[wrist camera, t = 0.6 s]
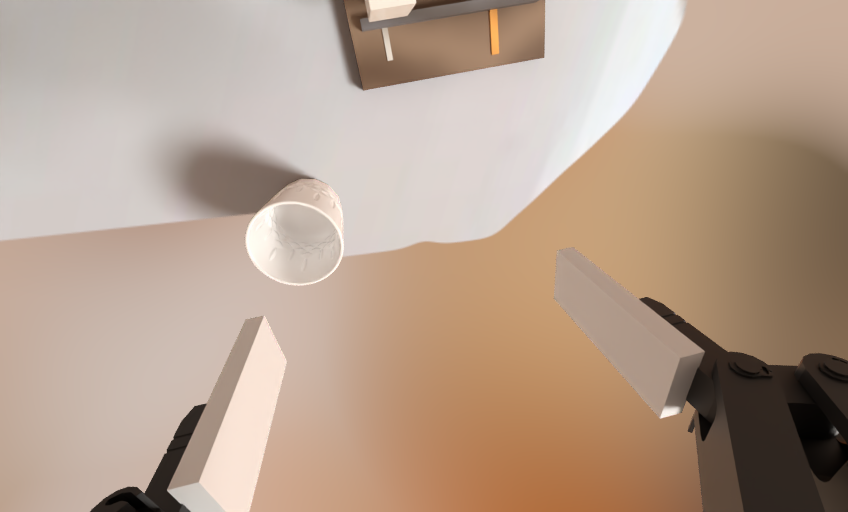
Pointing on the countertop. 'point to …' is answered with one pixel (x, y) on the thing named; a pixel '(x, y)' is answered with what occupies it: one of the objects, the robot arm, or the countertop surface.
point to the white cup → (297, 234)
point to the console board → (445, 38)
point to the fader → (388, 9)
